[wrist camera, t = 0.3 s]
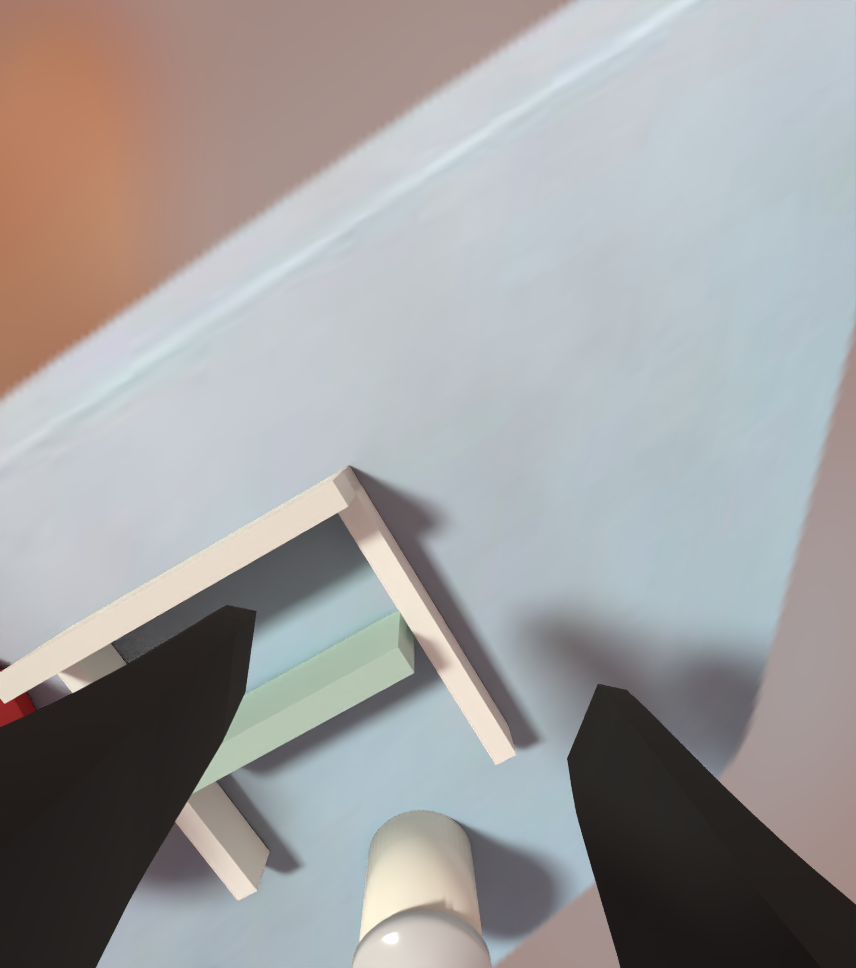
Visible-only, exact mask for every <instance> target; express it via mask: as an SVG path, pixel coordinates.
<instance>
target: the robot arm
mask: <svg viewBox="0 0 856 968" xmlns="http://www.w3.org/2000/svg"><path fill="white" fill-rule="evenodd" d="M255 618H256V611H253V610H248V609H243V608H238V607H234V606H229V605H226V606H224V607H222V608H221V609H219V610H217V611H216V612H214V613H212V614H210V615H209V616H207V617H205V618H204V619H202V620H200V621H199V622H197V623H196V624H194V625H192V626H191V627H189V628H187V629H186V630H184V631H183V632H181V633H179V634H178V635H176V636H174V637H173V638H171V639H169V640H168V641H166V642H164V643H163V644H161V645H159V646H157V647H156V648H154V649H152V650H151V651H149V652H147V653H145V654H144V655H142V656H140V657H139V658H137V659H135V660H133V661H132V662H130V663H128V664H126V665H125V666H123V667H121V668H119V669H117V670H115V671H113V672H112V673H110V674H108V675H106V676H104V677H102V678H100V679H98V680H97V681H95V682H93V683H91V684H89V685H87V686H85V687H83V688H81V689H80V690H78V691H76V692H74V693H72V694H70V695H68V696H66V697H64V698H62V699H60V700H58V701H56V702H54V703H52V704H50V705H47V706H45V707H43V708H41V709H39V710H37V711H35V712H33V713H30V714H28V715H26V716H24V717H22V718H19V719H17V720H15V721H13V722H10V723H8V724H6V725H4V726H1V727H0V968H96V966H97V964H98V962H99V960H100V958H101V956H102V954H103V952H104V950H105V948H106V946H107V944H108V942H109V940H110V938H111V936H112V934H113V932H114V930H115V928H116V926H117V924H118V922H119V920H120V918H121V916H122V914H123V912H124V910H125V908H126V906H127V904H128V902H129V900H130V899H131V897H132V895H133V893H134V891H135V890H136V888H137V886H138V884H139V882H140V881H141V879H142V877H143V875H144V873H145V872H146V870H147V868H148V866H149V865H150V863H151V861H152V860H153V858H154V856H155V855H156V853H157V851H158V850H159V848H160V846H161V845H162V843H163V841H164V840H165V838H166V836H167V835H168V833H169V831H170V830H171V828H172V826H173V825H174V823H175V821H176V820H177V818H178V816H179V815H180V813H181V811H182V810H183V808H184V806H185V805H186V803H187V801H188V800H189V798H190V796H191V795H192V793H193V791H194V790H195V788H196V786H197V785H198V783H199V781H200V780H201V778H202V776H203V774H204V773H205V771H206V769H207V768H208V766H209V764H210V763H211V761H212V759H213V758H214V756H215V754H216V752H217V751H218V749H219V747H220V746H221V744H222V742H223V740H224V738H225V736H226V734H227V732H228V729H229V727H230V725H231V723H232V721H233V719H234V717H235V714H236V712H237V710H238V708H239V705H240V703H241V701H242V699H243V696H244V694H245V691H246V684H247V676H248V669H249V662H250V654H251V647H252V640H253V633H254V625H255ZM567 760H568V767H569V774H570V780H571V787H572V792H573V798H574V803H575V809H576V814H577V817H578V821H579V825H580V829H581V832H582V836H583V839H584V843H585V846H586V850H587V853H588V857H589V860H590V864H591V867H592V871H593V874H594V877H595V881H596V884H597V888H598V891H599V894H600V898H601V901H602V905H603V908H604V912H605V915H606V918H607V922H608V925H609V929H610V932H611V936H612V939H613V942H614V946H615V949H616V953H617V956H618V960H619V964H620V968H856V904H854V903H853V902H852V901H851V900H850V899H848V898H847V897H846V896H845V895H844V894H843V893H841V892H840V891H839V890H838V889H837V888H836V887H834V886H833V885H832V884H831V883H829V882H828V881H827V880H826V879H825V878H824V877H823V876H821V875H820V874H819V873H818V872H816V871H815V870H814V869H813V868H812V867H811V866H809V865H808V864H807V863H806V862H805V861H804V860H803V859H802V858H800V857H799V856H798V855H797V854H796V853H795V852H794V851H792V850H791V849H790V848H789V847H788V846H787V845H786V844H785V843H784V842H783V841H782V840H780V839H779V838H778V837H777V836H776V835H775V834H774V833H773V832H772V831H771V830H770V829H769V828H767V827H766V826H765V825H764V824H763V823H762V822H761V821H760V820H759V819H758V818H757V817H755V815H753V814H752V813H751V812H750V811H749V810H748V809H747V808H746V807H745V806H744V805H743V804H742V803H741V802H740V801H739V800H738V799H737V798H736V797H735V796H733V795H732V794H731V793H730V792H729V791H728V790H727V789H726V788H725V787H724V786H723V785H722V784H721V783H720V782H719V781H718V780H717V779H716V778H715V777H714V776H713V775H712V774H711V773H710V772H709V771H708V770H707V769H706V768H705V767H704V766H703V765H702V764H701V763H700V762H699V761H698V760H697V759H696V758H695V757H694V756H693V755H692V754H691V753H690V752H689V751H688V750H687V749H686V748H685V747H684V746H683V745H682V744H681V743H680V742H679V741H678V740H677V739H676V738H675V737H674V736H673V735H672V734H671V733H670V732H669V731H668V730H667V729H666V728H665V727H664V726H663V725H662V724H661V723H660V722H659V721H658V720H657V719H656V718H655V717H654V716H653V715H652V714H651V713H650V712H649V711H648V710H647V709H646V708H645V707H644V706H643V705H642V704H641V703H640V702H639V701H638V700H637V699H636V698H635V697H634V696H632V695H631V694H630V693H629V692H628V691H627V690H624V689H619V688H615V687H610V686H605V685H601V684H598V685H597V688H596V690H595V693H594V695H593V697H592V700H591V702H590V705H589V707H588V710H587V712H586V714H585V717H584V719H583V722H582V724H581V726H580V729H579V731H578V734H577V736H576V738H575V741H574V743H573V746H572V748H571V751H570V753H569V755H568V758H567Z"/></svg>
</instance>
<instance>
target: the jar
mask: <svg viewBox="0 0 856 968" xmlns="http://www.w3.org/2000/svg"><path fill="white" fill-rule="evenodd" d="M352 968H492V966H491V959H490V954H489V950H488V948H487V945H486V943H485V941H484V940H483V937H482V929H481V921H480V914H479V906H478V898H477V890H476V882H475V875H474V867H473V859H472V851H471V845H470V841H469V839H468V836H467V834H466V833H465V831H464V830H463V828H462V827H461V826H460V825H459V824H458V823H457V822H455V821H454V820H453V819H451V818H449V817H448V816H446V815H443V814H441V813H437V812H434V811H426V810H418V811H410V812H406V813H402V814H399V815H397V816H395V817H393V818H391V819H390V820H388V821H387V822H386V823H384V824H383V825H382V826H381V827H380V828H379V829H378V831H377V832H376V833H375V835H374V837H373V839H372V841H371V843H370V847H369V853H368V863H367V873H366V883H365V892H364V902H363V912H362V922H361V932H360V941H359V945H358V946H357V948H356V951H355V953H354V956H353V961H352Z"/></svg>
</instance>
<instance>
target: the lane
mask: <svg viewBox="0 0 856 968" xmlns="http://www.w3.org/2000/svg"><path fill="white" fill-rule="evenodd" d="M336 513H338V514H339V516H340V517H341V519H342V521H343V522H344V524H345V525H346V527H347V529H348V530H349V532H350V533H351V535H352V537H353V538H354V540H355V541H356V543H357V544H358V546H359V548H360V549H361V551H362V552H363V554H364V556H365V557H366V559H367V560H368V562H369V564H370V565H371V567H372V568H373V570H374V572H375V573H376V575H377V576H378V578H379V580H380V581H381V583H382V584H383V586H384V588H385V589H386V591H387V592H388V594H389V596H390V597H391V599H392V600H393V602H394V603H395V605H396V607H397V608H398V610H399V611H400V613H401V615H402V616H403V618H404V619H405V621H406V623H407V624H408V626H409V627H410V629H411V631H412V632H413V634H414V635H415V637H416V639H417V640H418V642H419V643H420V645H421V647H422V648H423V650H424V651H425V653H426V654H427V656H428V658H429V659H430V661H431V662H432V664H433V666H434V667H435V669H436V670H437V672H438V674H439V675H440V677H441V678H442V680H443V682H444V683H445V685H446V686H447V688H448V690H449V691H450V693H451V694H452V696H453V698H454V699H455V701H456V702H457V704H458V706H459V707H460V709H461V710H462V712H463V713H464V715H465V717H466V718H467V720H468V721H469V723H470V725H471V726H472V728H473V729H474V731H475V733H476V734H477V736H478V737H479V739H480V741H481V742H482V744H483V745H484V747H485V749H486V750H487V752H488V753H489V755H490V757H491V758H492V760H493V761H494V763H495V764H496V765H497V764H499V763H501V762H503V761H505V760H507V759H509V758H511V757H512V756H514V755H516V751H515V747H514V744H513V740H512V737H511V734H510V730H509V727H508V724H507V723H506V721H505V720H504V718H503V716H502V715H501V713H500V711H499V710H498V708H497V706H496V705H495V703H494V702H493V700H492V698H491V697H490V695H489V693H488V692H487V690H486V688H485V687H484V685H483V684H482V682H481V680H480V679H479V677H478V675H477V674H476V672H475V670H474V669H473V667H472V666H471V664H470V662H469V661H468V659H467V657H466V656H465V654H464V652H463V651H462V649H461V647H460V646H459V644H458V643H457V641H456V639H455V638H454V636H453V634H452V633H451V631H450V629H449V628H448V626H447V625H446V623H445V621H444V620H443V618H442V616H441V615H440V613H439V611H438V610H437V608H436V607H435V605H434V603H433V602H432V600H431V598H430V597H429V595H428V593H427V592H426V590H425V589H424V587H423V585H422V584H421V582H420V580H419V579H418V577H417V575H416V574H415V572H414V571H413V569H412V567H411V566H410V564H409V562H408V561H407V559H406V557H405V556H404V554H403V552H402V551H401V549H400V548H399V546H398V544H397V543H396V541H395V539H394V538H393V536H392V534H391V533H390V531H389V530H388V528H387V526H386V525H385V523H384V521H383V520H382V518H381V516H380V515H379V513H378V512H377V510H376V508H375V507H374V505H373V503H372V502H371V500H370V498H369V497H368V495H367V494H366V492H365V490H364V489H363V487H362V485H361V484H360V482H359V480H358V479H357V477H356V476H355V474H354V472H353V471H352V469H351V467H350V466H347V467H345V468H343V469H342V470H340V471H338V472H336V473H335V474H333V475H331V476H330V477H328V478H326V479H324V480H323V481H321V482H319V483H317V484H316V485H314V486H312V487H311V488H309V489H307V490H305V491H304V492H302V493H300V494H298V495H297V496H295V497H293V498H292V499H290V500H288V501H286V502H285V503H283V504H281V505H280V506H278V507H276V508H274V509H273V510H271V511H269V512H267V513H266V514H264V515H262V516H261V517H259V518H257V519H255V520H254V521H252V522H250V523H248V524H247V525H245V526H243V527H242V528H240V529H238V530H236V531H235V532H233V533H231V534H230V535H228V536H226V537H224V538H223V539H221V540H219V541H217V542H216V543H214V544H212V545H211V546H209V547H207V548H205V549H204V550H202V551H200V552H198V553H197V554H195V555H193V556H192V557H190V558H188V559H186V560H185V561H183V562H181V563H179V564H178V565H176V566H174V567H173V568H171V569H169V570H167V571H166V572H164V573H162V574H161V575H159V576H157V577H155V578H154V579H152V580H150V581H148V582H147V583H145V584H143V585H142V586H140V587H138V588H136V589H135V590H133V591H131V592H129V593H128V594H126V595H124V596H123V597H121V598H119V599H117V600H116V601H114V602H112V603H110V604H109V605H107V606H105V607H104V608H102V609H100V610H98V611H97V612H95V613H93V614H92V615H90V616H88V617H86V618H85V619H83V620H81V621H79V622H78V623H76V624H74V625H73V626H71V627H69V628H68V629H66V630H65V631H63V632H61V633H60V634H58V635H57V636H55V637H54V638H52V639H51V640H49V641H48V642H46V643H44V644H43V645H41V646H40V647H38V648H37V649H35V650H34V651H32V652H31V653H29V654H27V655H26V656H24V657H23V658H21V659H20V660H18V661H17V662H15V663H14V664H12V665H10V666H9V667H7V668H6V669H4V670H3V671H1V672H0V699H1V700H2V701H3V703H4V704H5V703H7V702H9V701H10V700H12V699H14V698H16V697H17V696H19V695H21V694H22V693H24V692H26V691H28V690H29V689H31V688H33V687H35V686H36V685H38V684H40V683H42V682H43V681H45V680H47V679H49V678H50V677H52V676H54V675H56V674H58V675H59V677H60V678H61V679H62V680H63V682H64V683H65V684H66V685H67V687H68V688H69V689H70V690H71V692H72V693H74V692H76V691H78V690H80V689H81V688H83V687H85V686H87V685H89V684H91V683H93V682H95V681H97V680H98V679H100V678H102V677H104V676H106V675H108V674H110V673H112V672H113V671H115V670H117V669H119V668H121V667H123V666H125V665H126V663H125V661H124V660H123V659H122V657H121V656H120V655H119V653H118V652H117V651H116V649H115V648H114V647H113V646H112V644H111V642H113V641H115V640H117V639H118V638H120V637H122V636H124V635H125V634H127V633H129V632H131V631H132V630H134V629H136V628H137V627H139V626H141V625H143V624H144V623H146V622H148V621H150V620H151V619H153V618H155V617H157V616H158V615H160V614H162V613H164V612H165V611H167V610H169V609H171V608H172V607H174V606H176V605H178V604H179V603H181V602H183V601H185V600H186V599H188V598H190V597H192V596H193V595H195V594H197V593H198V592H200V591H202V590H204V589H205V588H207V587H209V586H211V585H212V584H214V583H216V582H218V581H219V580H221V579H223V578H225V577H226V576H228V575H230V574H232V573H233V572H235V571H237V570H239V569H240V568H242V567H244V566H246V565H247V564H249V563H251V562H253V561H254V560H256V559H258V558H259V557H261V556H263V555H265V554H266V553H268V552H270V551H272V550H273V549H275V548H277V547H279V546H280V545H282V544H284V543H286V542H287V541H289V540H291V539H293V538H294V537H296V536H298V535H300V534H301V533H303V532H305V531H307V530H308V529H310V528H312V527H313V526H315V525H317V524H319V523H320V522H322V521H324V520H326V519H327V518H329V517H331V516H333V515H334V514H336ZM175 822H176V824H177V825H178V826H179V827H180V829H181V830H182V831H183V832H184V834H185V835H186V836H187V837H188V839H189V840H190V841H191V842H192V844H193V845H194V846H195V847H196V849H197V850H198V851H199V852H200V854H201V855H202V856H203V858H204V859H205V860H206V861H207V863H208V864H209V865H210V866H211V868H212V869H213V870H214V871H215V873H216V874H217V875H218V876H219V878H220V879H221V880H222V881H223V883H224V884H225V885H226V886H227V888H228V889H229V890H230V891H231V893H232V894H233V895H234V896H235V898H236V899H237V900H240V899H242V898H244V897H246V896H248V895H250V894H252V893H254V892H256V891H257V889H258V886H259V883H260V880H261V877H262V874H263V871H264V868H265V865H266V862H267V858H268V855H269V850H268V849H267V848H266V846H265V845H264V844H263V842H262V841H261V840H260V838H259V837H258V836H257V835H256V833H255V832H254V831H253V829H252V828H251V827H250V825H249V824H248V823H247V821H246V820H245V819H244V817H243V816H242V815H241V814H240V812H239V811H238V810H237V808H236V807H235V806H234V804H233V803H232V802H231V800H230V799H229V798H228V796H227V795H226V794H225V793H224V791H223V790H222V789H221V787H220V786H219V785H218V783H217V782H216V781H215V782H213V783H211V784H209V785H208V786H206V787H204V788H202V789H200V790H198V791H197V792H195V793H193V794H192V795H191V796H190V798H189V800H188V801H187V803H186V805H185V806H184V808H183V810H182V811H181V813H180V815H179V816H178V818H177V820H176V821H175Z"/></svg>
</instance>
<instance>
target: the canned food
mask: <svg viewBox="0 0 856 968" xmlns="http://www.w3.org/2000/svg"><path fill="white" fill-rule="evenodd" d="M1 671H3V669H1V668H0V672H1ZM35 711H36V710H35V708H34V706H33V704H32V702H31V700H30V698H29V696H28V694H27V693H26V692H24V693H22V694H21V695H19V696H17V697H16V698H14V699H12V700H10V701H9V702H7V703H5V704H4V703H3V701H2V700H1V699H0V727H1V726H4V725H6V724H8V723H10V722H13V721H15V720H17V719H19V718H22V717H24V716H26V715H28V714H30V713H33V712H35Z"/></svg>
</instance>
